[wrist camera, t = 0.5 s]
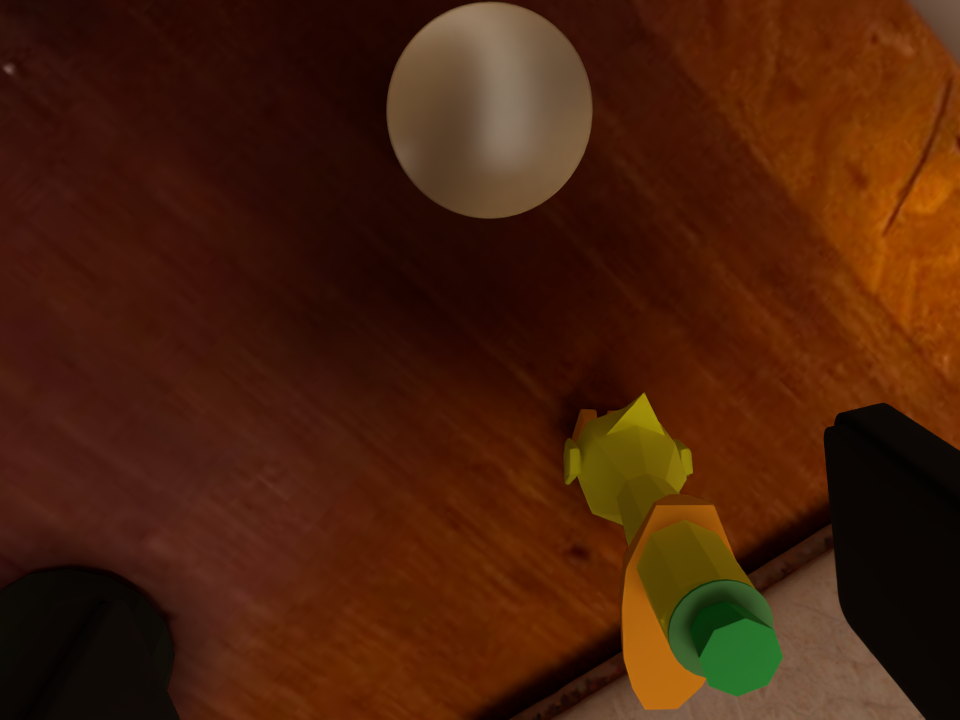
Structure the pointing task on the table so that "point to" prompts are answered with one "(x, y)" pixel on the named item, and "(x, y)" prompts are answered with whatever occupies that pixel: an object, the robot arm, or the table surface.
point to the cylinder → (489, 110)
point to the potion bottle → (25, 604)
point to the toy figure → (670, 564)
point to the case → (798, 679)
